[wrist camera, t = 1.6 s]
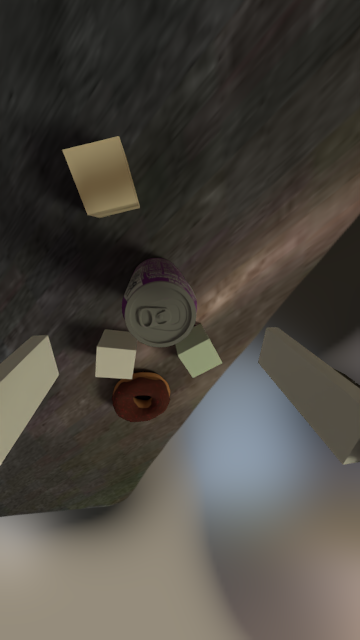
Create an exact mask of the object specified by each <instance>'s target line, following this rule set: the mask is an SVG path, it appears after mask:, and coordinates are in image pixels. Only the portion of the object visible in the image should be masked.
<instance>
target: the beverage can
mask: <svg viewBox="0 0 360 640" xmlns="http://www.w3.org/2000/svg"><path fill="white" fill-rule="evenodd" d="M196 311H197V301H196V297H195V294H194V292H193V290H192V288H191V287H190V285H189V284H188V282H187V281H186V279H185V278H184V277H183V275H182V274H181V272H180V271H179V270H178V268H177V267H176V266H175V265H174V264H173V263H172V262H170V261H168V260H166V259H162V258H151V259H147V260H145V261H143V262H142V263H140V264H139V265H138V266H137V267H136V269H135V270H134V272H133V275H132V277H131V280H130V282H129V284H128V287H127V289H126V292H125V294H124V297H123V301H122V313H123V317H124V319H125V322H126V325H127V328H128V330H129V331H130V333H131V334H132V335H133V337H134V338H136V339H137V340H138V341H140V342H141V343H143V344H145V345H148V346H152V347H168V346H172V345H174V344H177V343H179V342H180V341H182V340H183V339H184V338H186V337H187V336H188V334H189V333H190V332H191V330H192V329H193V327H194V324H195V321H196Z"/></svg>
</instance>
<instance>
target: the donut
mask: <svg viewBox="0 0 360 640" xmlns="http://www.w3.org/2000/svg"><path fill="white" fill-rule="evenodd" d="M140 395H141V396H142V395H146V396H150V397H151V398H150V399H149V400H141V399H138V398H135V396H140ZM169 397H170V389H169V385H168V383H167V382H166V381H165V380H164V379H163V378H162V377H161V376H160V375H158V374H156V373H151V372H138V373H133V376H132V379H121V380H120V381H119V382H118V383H117V384H116V386H115V388H114V391H113V396H112V400H113V406H114V409H115V411H116V413H117V414H118V416H119V417H121V418H123V419H125V420H127V421H130V422H141V421H148V420H151V419H153V418H156V416H158V415H160V414H161V413H163V412H164V411H165V410H166V408H167V406H168V404H169V401H170V398H169Z"/></svg>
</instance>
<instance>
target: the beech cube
mask: <svg viewBox="0 0 360 640" xmlns="http://www.w3.org/2000/svg"><path fill="white" fill-rule="evenodd" d="M62 151H63V153H64V156H65V158H66V161H67V164H68V166H69V169H70V171H71V174H72V176H73V179H74V181H75V184H76V187H77V189H78V192H79V194H80V197H81V199H82V202H83V204H84V207H85V210H86V212H87V215H90V216H95V217H99V218H101V217H105V216H109V215H113V214H117V213H121V212H125V211H129V210H133V209H137V208H140V206H139V202H138V198H137V195H136V191H135V188H134V184H133V180H132V177H131V173H130V170H129V166H128V163H127V159H126V155H125V153H124V150H123V147H122V144H121V141H120V138H119V136H117V137H113V138H109V139H105V140H101V141H97V142H93V143H88V144H84V145H80V146H76V147H72V148H68V149H63V150H62Z"/></svg>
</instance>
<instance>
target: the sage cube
mask: <svg viewBox="0 0 360 640" xmlns="http://www.w3.org/2000/svg"><path fill="white" fill-rule="evenodd" d="M175 345H176V350H177V354H178V356H179V358H180V359H181V361H182V362H183V364H184V365H185V367H186V368H187V370H188V371H189V373H190V374H191V376H192V377H193V378H194V377H196V376H198V375H200V374H202V373H204V372H206V371H208V370H210V369H212V368H214V367H215V366H217V365H219V364H221V363H222V361H221V360H220V358H219V356H218V354H217V352H216V350H215V348H214V347H213V345H212V343H211V341H210V339H209V337H208V336H207V334H206V332H205V330H204V328H203V326H202V325H201V323H200V324H199V325H197V326H195V327H193V329H192V330H191V332H190V333H189V334H188V336H187V337H186V338H184V339H183V340H182V341H180V342H179V343H177V344H175Z"/></svg>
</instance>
